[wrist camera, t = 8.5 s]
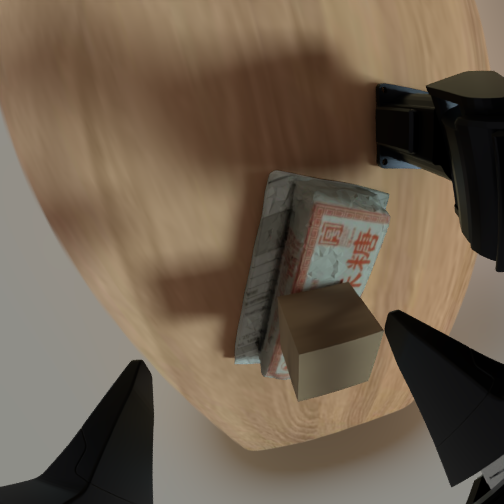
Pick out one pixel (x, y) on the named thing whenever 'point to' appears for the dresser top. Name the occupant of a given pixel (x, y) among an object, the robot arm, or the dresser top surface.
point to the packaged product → (305, 254)
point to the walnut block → (327, 339)
